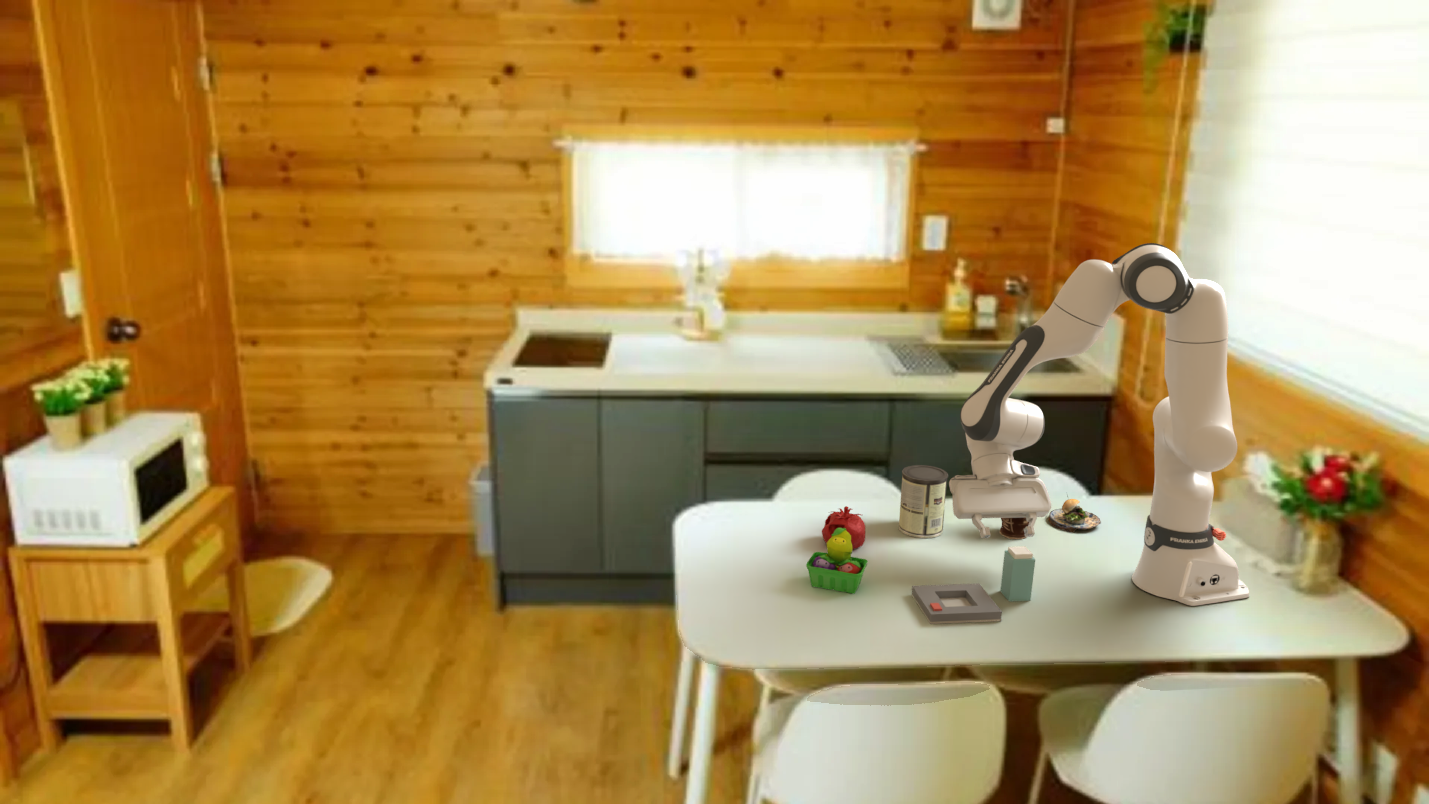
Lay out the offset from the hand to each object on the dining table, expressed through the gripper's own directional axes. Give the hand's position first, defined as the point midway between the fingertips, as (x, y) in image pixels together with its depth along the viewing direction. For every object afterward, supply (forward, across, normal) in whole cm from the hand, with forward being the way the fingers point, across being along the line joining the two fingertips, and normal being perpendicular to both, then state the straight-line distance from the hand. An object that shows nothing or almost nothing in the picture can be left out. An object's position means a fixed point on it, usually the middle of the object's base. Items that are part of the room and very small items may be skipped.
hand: (1008, 536), depth 214 cm
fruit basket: (+6, -35, +9) cm, 36 cm away
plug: (+12, 0, +3) cm, 12 cm away
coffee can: (-12, -9, +27) cm, 31 cm away
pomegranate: (-7, -29, +22) cm, 37 cm away
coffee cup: (-10, +12, +24) cm, 29 cm away
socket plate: (+14, -14, 0) cm, 20 cm away
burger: (-13, +29, +28) cm, 42 cm away
